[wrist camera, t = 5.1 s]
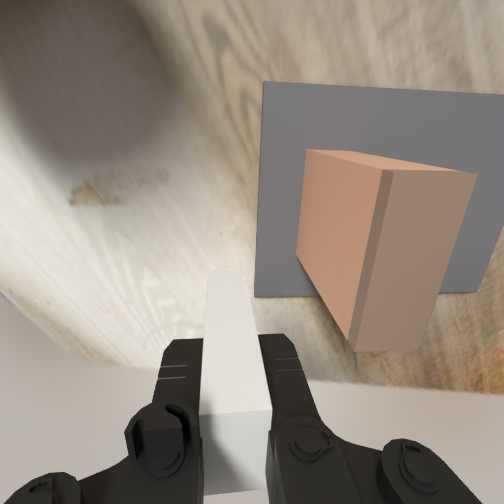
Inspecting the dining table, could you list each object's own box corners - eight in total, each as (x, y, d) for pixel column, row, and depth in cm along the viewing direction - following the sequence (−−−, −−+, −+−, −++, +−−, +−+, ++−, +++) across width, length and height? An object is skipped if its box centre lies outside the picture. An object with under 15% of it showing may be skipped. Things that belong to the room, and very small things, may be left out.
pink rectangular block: (306, 149, 25) (394, 172, 13) (350, 150, 26) (478, 174, 13) (295, 253, 29) (354, 352, 17) (333, 253, 30) (419, 349, 17)
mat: (263, 82, 24) (264, 81, 23) (546, 98, 26) (553, 97, 26) (253, 294, 31) (254, 297, 31) (472, 289, 34) (477, 291, 34)
